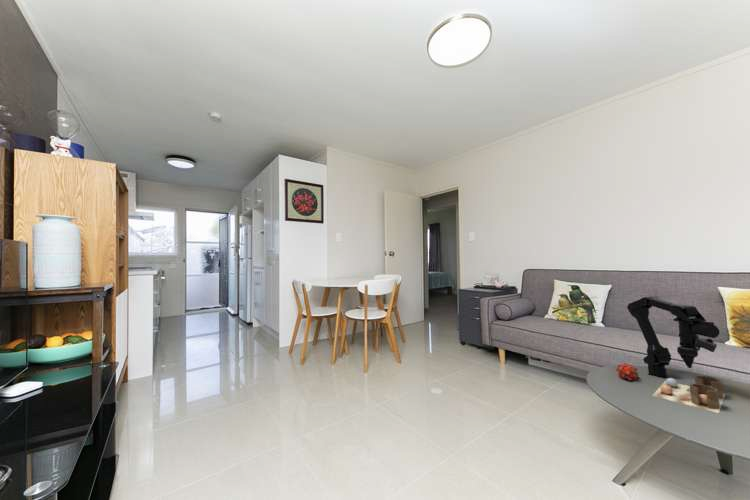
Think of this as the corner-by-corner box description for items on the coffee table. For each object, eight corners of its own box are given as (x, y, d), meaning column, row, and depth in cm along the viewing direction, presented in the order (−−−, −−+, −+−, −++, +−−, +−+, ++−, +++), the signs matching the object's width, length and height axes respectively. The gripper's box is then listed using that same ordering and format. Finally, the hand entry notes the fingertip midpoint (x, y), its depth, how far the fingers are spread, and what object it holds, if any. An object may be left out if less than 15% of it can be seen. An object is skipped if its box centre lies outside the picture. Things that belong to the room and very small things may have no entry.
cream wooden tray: (652, 396, 125) (650, 379, 126) (665, 381, 140) (663, 366, 141) (718, 414, 110) (716, 394, 110) (725, 395, 125) (723, 378, 125)
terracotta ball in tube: (697, 404, 117) (696, 394, 117) (698, 401, 119) (697, 391, 120) (712, 407, 114) (711, 397, 114) (713, 404, 116) (712, 394, 116)
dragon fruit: (630, 378, 149) (630, 389, 140) (613, 366, 153) (611, 376, 145) (642, 368, 145) (642, 379, 136) (624, 356, 150) (623, 366, 141)
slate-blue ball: (665, 386, 134) (664, 378, 134) (667, 384, 136) (666, 376, 136) (677, 389, 131) (676, 380, 131) (679, 387, 133) (678, 378, 133)
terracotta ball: (659, 393, 127) (658, 384, 127) (661, 391, 129) (660, 382, 130) (672, 396, 124) (671, 387, 124) (674, 394, 126) (673, 385, 126)
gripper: (713, 339, 120) (716, 376, 119) (715, 331, 132) (718, 365, 131) (675, 334, 129) (678, 368, 128) (680, 327, 140) (683, 359, 140)
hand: (690, 365), depth 132 cm, fingers open, 9 cm apart
